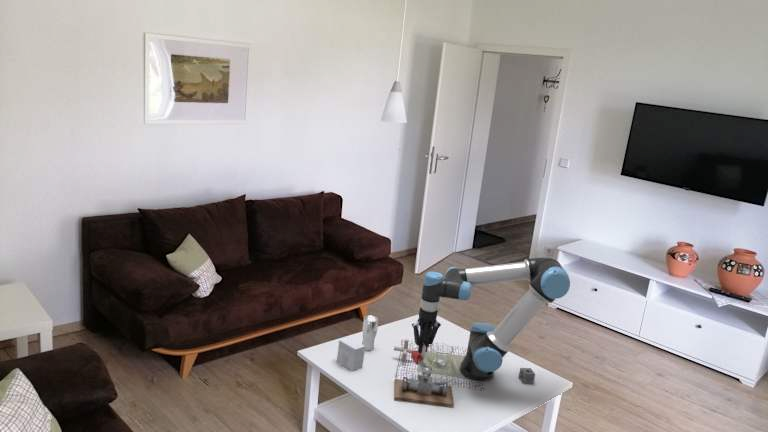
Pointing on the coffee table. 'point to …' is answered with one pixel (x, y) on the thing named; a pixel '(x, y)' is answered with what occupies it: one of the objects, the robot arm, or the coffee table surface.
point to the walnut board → (422, 396)
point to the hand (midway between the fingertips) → (421, 359)
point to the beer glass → (369, 332)
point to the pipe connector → (404, 349)
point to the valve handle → (421, 363)
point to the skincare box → (350, 353)
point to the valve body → (424, 386)
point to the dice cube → (526, 375)
